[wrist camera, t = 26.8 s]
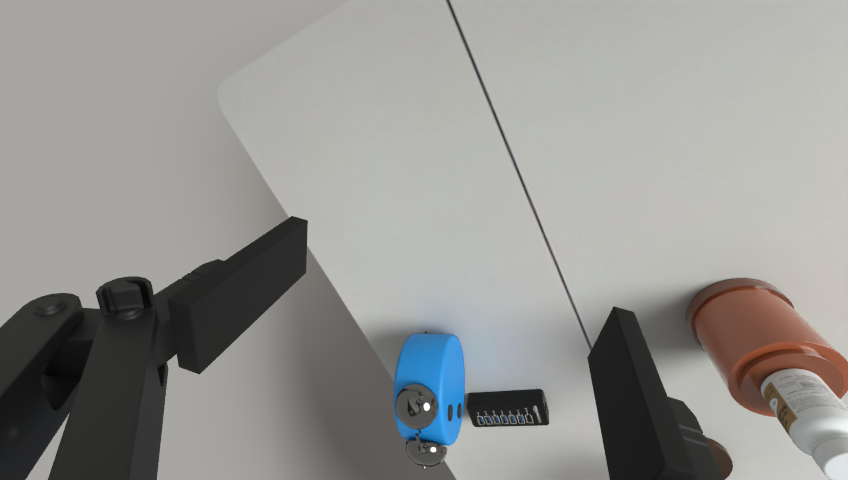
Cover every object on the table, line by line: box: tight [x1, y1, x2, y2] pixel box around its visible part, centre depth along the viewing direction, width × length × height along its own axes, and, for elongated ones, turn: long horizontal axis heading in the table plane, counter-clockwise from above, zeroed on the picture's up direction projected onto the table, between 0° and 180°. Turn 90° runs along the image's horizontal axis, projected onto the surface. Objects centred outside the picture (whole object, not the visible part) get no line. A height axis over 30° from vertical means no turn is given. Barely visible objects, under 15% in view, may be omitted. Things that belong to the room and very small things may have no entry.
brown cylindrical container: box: [686, 278, 848, 417], centre depth 38 cm, size 9×9×11 cm
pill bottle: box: [761, 368, 848, 480], centre depth 30 cm, size 4×4×8 cm
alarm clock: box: [394, 332, 465, 469], centre depth 49 cm, size 13×6×15 cm, turn 10°
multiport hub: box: [466, 389, 549, 427], centre depth 55 cm, size 4×11×2 cm, turn 109°
